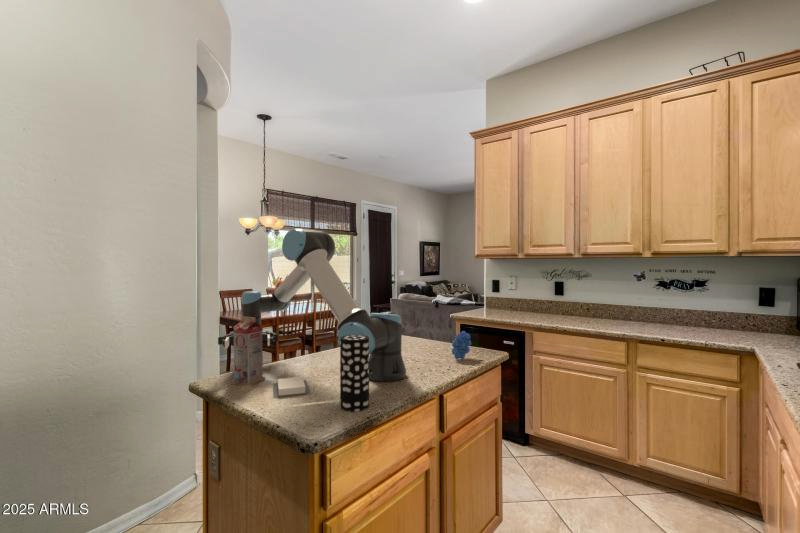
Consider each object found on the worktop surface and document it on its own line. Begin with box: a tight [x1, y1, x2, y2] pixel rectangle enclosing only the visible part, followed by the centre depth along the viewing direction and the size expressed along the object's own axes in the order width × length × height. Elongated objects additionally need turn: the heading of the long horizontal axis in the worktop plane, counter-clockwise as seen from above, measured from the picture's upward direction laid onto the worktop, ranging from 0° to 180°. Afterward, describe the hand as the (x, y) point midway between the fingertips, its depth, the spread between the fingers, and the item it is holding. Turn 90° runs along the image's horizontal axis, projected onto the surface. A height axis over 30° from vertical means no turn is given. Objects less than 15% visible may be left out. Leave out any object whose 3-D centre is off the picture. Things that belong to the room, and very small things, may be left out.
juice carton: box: [233, 315, 264, 384], centre depth 134 cm, size 7×7×22 cm
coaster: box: [230, 376, 266, 386], centre depth 134 cm, size 11×11×1 cm
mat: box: [272, 379, 311, 399], centre depth 125 cm, size 15×11×1 cm
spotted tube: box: [339, 335, 370, 413], centre depth 111 cm, size 8×8×20 cm
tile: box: [277, 376, 305, 396], centre depth 124 cm, size 2×8×11 cm
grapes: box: [451, 330, 472, 360], centre depth 168 cm, size 12×7×12 cm, turn 128°
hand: (247, 343), depth 131 cm, fingers open, 13 cm apart
